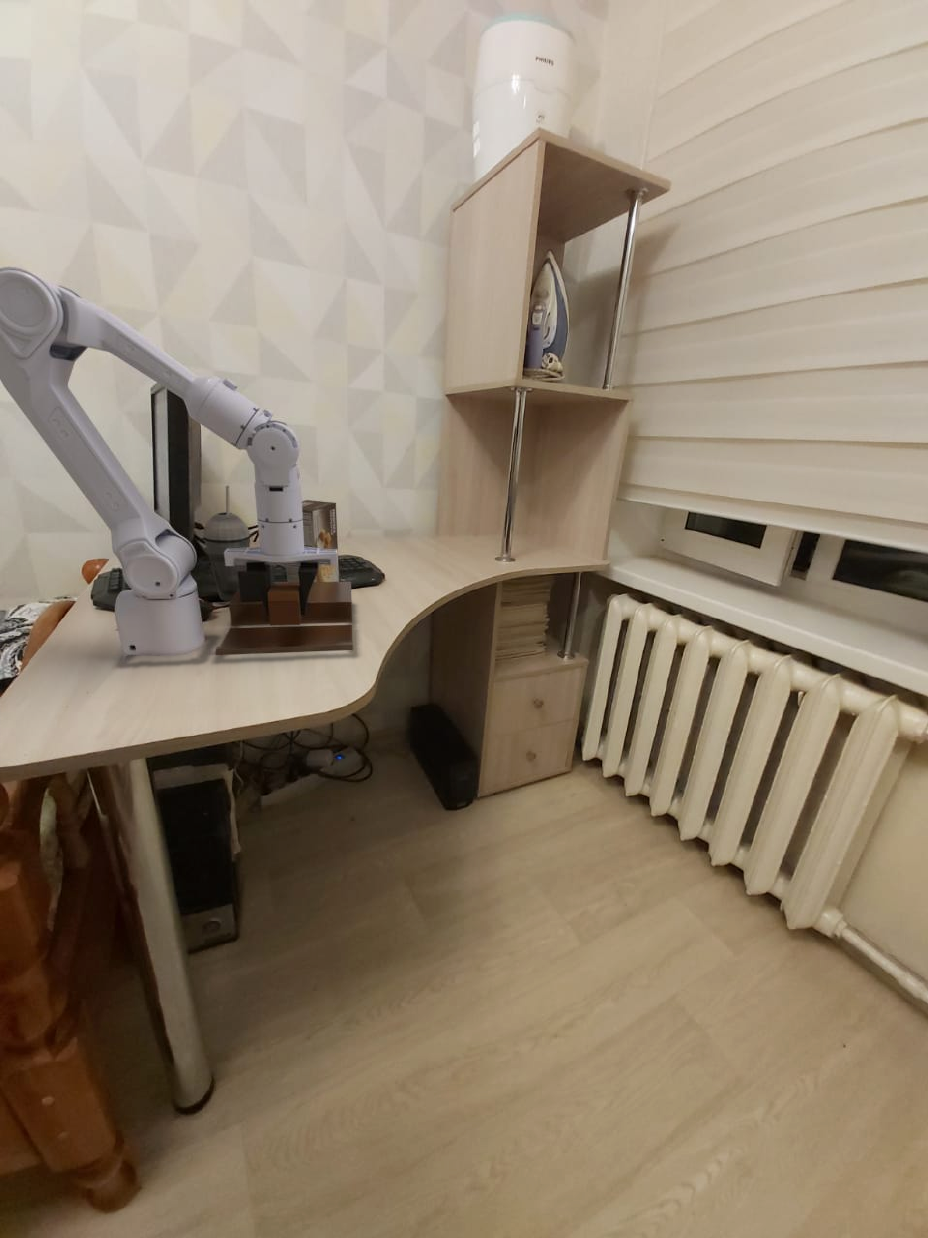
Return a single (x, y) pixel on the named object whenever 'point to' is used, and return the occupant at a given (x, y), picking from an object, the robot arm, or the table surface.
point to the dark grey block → (250, 584)
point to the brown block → (284, 604)
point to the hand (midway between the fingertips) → (287, 613)
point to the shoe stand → (322, 607)
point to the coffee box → (318, 537)
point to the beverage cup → (225, 547)
